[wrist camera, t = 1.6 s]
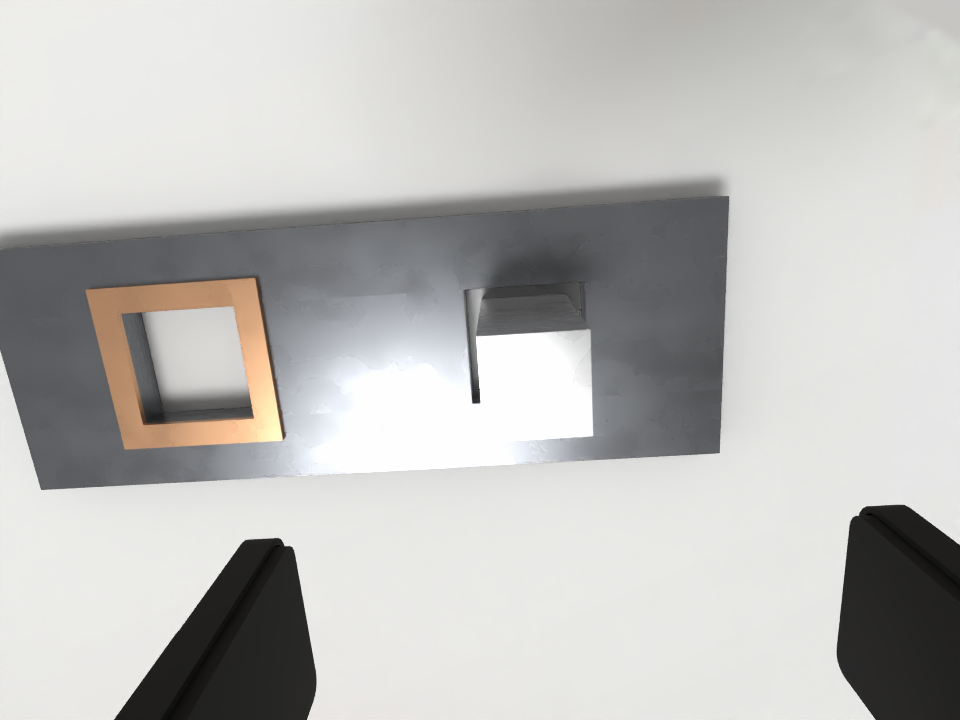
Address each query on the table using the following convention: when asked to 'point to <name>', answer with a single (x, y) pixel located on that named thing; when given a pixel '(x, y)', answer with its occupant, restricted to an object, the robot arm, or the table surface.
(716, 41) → the table surface
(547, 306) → the steel rectangular block
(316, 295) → the grey board with holes
